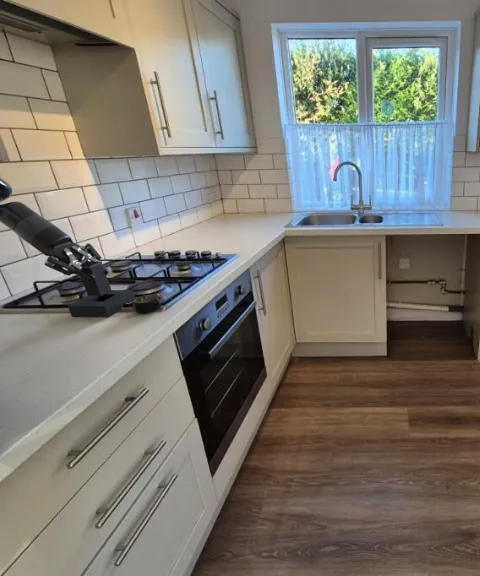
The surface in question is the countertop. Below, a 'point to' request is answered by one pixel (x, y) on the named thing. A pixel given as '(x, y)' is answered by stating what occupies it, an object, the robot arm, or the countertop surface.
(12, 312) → the countertop surface
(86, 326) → the countertop surface
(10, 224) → the robot arm
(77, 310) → the base pad
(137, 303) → the tape measure
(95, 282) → the pad post
